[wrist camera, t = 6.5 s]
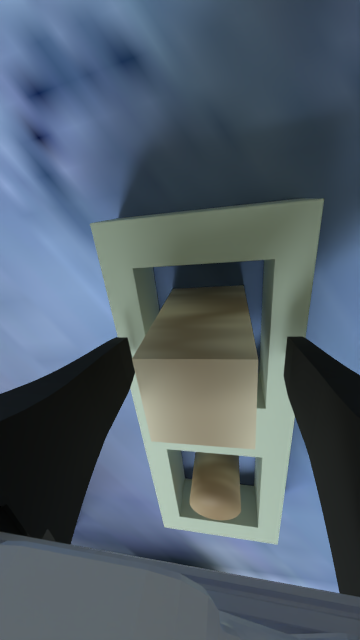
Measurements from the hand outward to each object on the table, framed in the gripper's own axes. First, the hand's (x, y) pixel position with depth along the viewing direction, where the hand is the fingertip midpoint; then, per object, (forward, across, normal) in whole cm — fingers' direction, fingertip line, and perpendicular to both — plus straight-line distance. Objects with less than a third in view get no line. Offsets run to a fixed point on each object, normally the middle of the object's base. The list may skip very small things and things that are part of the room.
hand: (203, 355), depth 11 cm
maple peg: (+4, 0, 0) cm, 4 cm away
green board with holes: (+4, 0, +6) cm, 7 cm away
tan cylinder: (+4, 0, +12) cm, 13 cm away
